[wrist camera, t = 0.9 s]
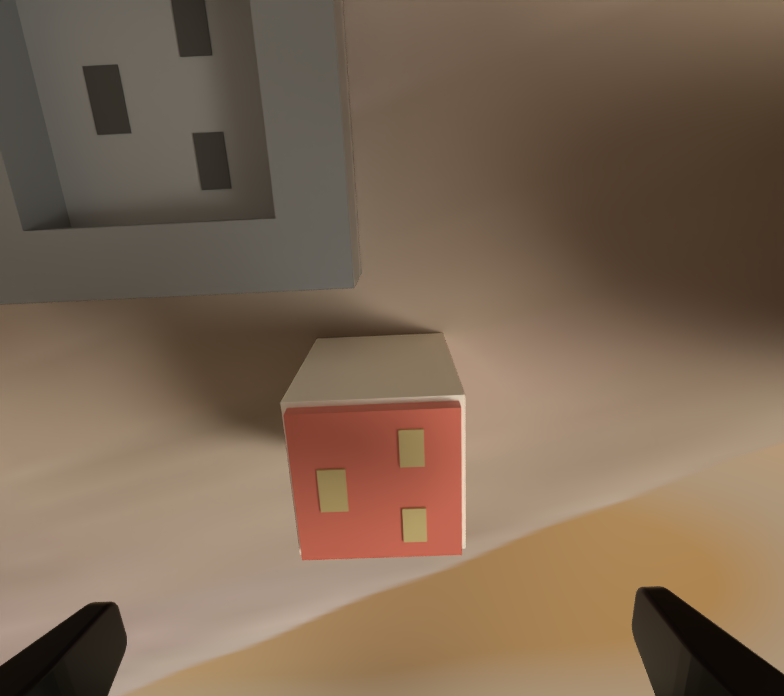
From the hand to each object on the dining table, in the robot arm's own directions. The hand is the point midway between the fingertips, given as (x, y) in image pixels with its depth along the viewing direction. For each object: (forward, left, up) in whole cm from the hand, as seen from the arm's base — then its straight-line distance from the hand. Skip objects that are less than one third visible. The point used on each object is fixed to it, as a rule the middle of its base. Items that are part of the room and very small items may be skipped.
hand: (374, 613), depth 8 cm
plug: (0, 0, -10) cm, 10 cm away
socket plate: (+6, -10, -10) cm, 15 cm away
